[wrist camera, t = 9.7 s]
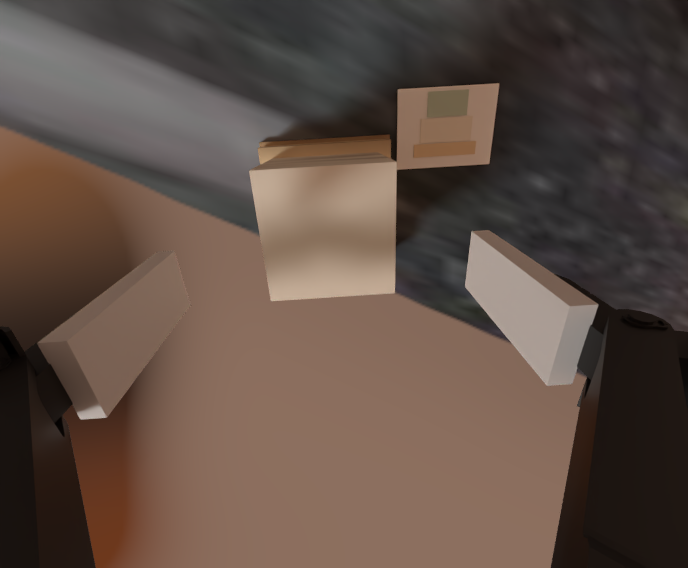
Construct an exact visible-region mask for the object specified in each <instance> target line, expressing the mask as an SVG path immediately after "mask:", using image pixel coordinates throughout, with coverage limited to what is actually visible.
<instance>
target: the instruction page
mask: <svg viewBox="0 0 688 568" xmlns="http://www.w3.org/2000/svg"><path fill="white" fill-rule="evenodd" d="M498 91H499V83H495V84H478V85H461V86H444V87H428V88H411V89H398V94H397V170H401V169H417V168H433V167H449V166H466V165H482V164H489V162H490V154H491V146H492V138H493V130H494V122H495V115H496V107H497V99H498Z"/></svg>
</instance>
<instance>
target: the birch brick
mask: <svg viewBox="0 0 688 568" xmlns="http://www.w3.org/2000/svg"><path fill="white" fill-rule="evenodd" d="M249 173H250V179H251V185H252V191H253V197H254V203H255V209H256V215H257V221H258V227H259V233H260V239H261V245H262V251H263V256H264V262H265V268H266V274H267V280H268V286H269V292H270V298H271V301H280V300H296V299H311V298H327V297H343V296H358V295H373V294H389V293H395V250H396V183H397V162H396V161H394V160H392V159H390V158H388V157H386V156H384V155H382V154H380V153H378V152H371V153H354V154H338V155H321V156H304V157H287V158H272V159H270V160H269V161H267V162H265V163H263V164H261V165H259V166H257V167H255V168H253V169H251V170H249Z"/></svg>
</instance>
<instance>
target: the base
mask: <svg viewBox="0 0 688 568" xmlns="http://www.w3.org/2000/svg"><path fill="white" fill-rule="evenodd" d="M259 144H260V148H258V153H259V159H260V165H261V164H263V163H265V162H267V161H269V160H270V159H272V158H287V157H304V156H321V155H338V154H354V153H371V152H378V153H380V154H382V155H384V156H386V157H388V158H390V159H391V140H390V135H373V136H357V137H340V138H324V139H307V140H291V141H274V142H260V143H259Z"/></svg>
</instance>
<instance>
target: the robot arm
mask: <svg viewBox="0 0 688 568" xmlns="http://www.w3.org/2000/svg"><path fill="white" fill-rule="evenodd" d="M465 287H466V288H467V290H468V291H469V292H470V293H471V295H472V296H473V297H474V298H475V299H476V301H477V302H478V303H479V304H480V305H481V307H482V308H483V309H484V310H485V311H486V313H487V314H488V315H489V316H490V317H491V319H492V320H493V321H494V322H495V324H496V325H497V326H498V327H499V328H500V330H501V331H502V332H503V333H504V334H505V336H506V337H507V338H508V339H509V340H510V342H511V343H512V344H513V345H514V346H515V348H516V349H517V350H518V351H519V352H520V354H521V355H522V356H523V357H524V359H525V360H526V361H527V362H528V363H529V365H530V366H531V367H532V368H533V369H534V371H535V372H536V373H537V374H538V375H539V377H540V378H541V379H542V380H543V381H544V383H545V384H546V385H547V386H550V385H564V384H572V383H573V380H574V377H575V374H576V371H577V368H579V369H580V370H581V371H582V372H583V373H584V374H585V375H586V376H587V379H586V382H585V385H584V387H583V390H582V393H581V396H580V399H579V401H578V404H577V406H578V407H580V410H579V415H578V421H577V426H576V432H575V437H574V443H573V448H572V454H571V459H570V465H569V470H568V476H567V481H566V487H565V492H564V498H563V503H562V509H561V514H560V520H559V525H558V531H557V536H556V542H555V548H554V553H553V558H552V564H551V568H688V332H684V331H674V329H673V328H672V326H671V325H670V324H669V323H667V322H666V321H665V320H663V319H661V318H659V317H657V316H654V315H652V314H648V313H645V312H641V311H636V310H629V309H618V310H616V309H614V308H613V307H611V306H609V305H608V304H606V303H605V302H603V301H602V300H600V299H599V298H597V297H596V296H594V295H593V294H590V292H588V291H587V290H585V289H583V288H581V287H580V286H579V285H577V284H576V283H574V282H573V281H571V280H569V279H567V278H564V277H562V276H559V275H556V274H553V273H551V272H550V271H548V270H547V269H546V268H544V267H543V266H541V265H540V264H538V263H537V262H535V261H534V260H532V259H531V258H529V257H528V256H526V255H525V254H523V253H522V252H520V251H519V250H517V249H516V248H514V247H513V246H512V245H510V244H509V243H507V242H506V241H504V240H503V239H501V238H500V237H498V236H497V235H495V234H494V233H492V232H491V231H489V230H484V231H472V233H471V241H470V250H469V258H468V266H467V274H466V282H465ZM190 306H191V304H190V300H189V297H188V294H187V290H186V287H185V284H184V280H183V277H182V274H181V271H180V267H179V264H178V260H177V257H176V254H175V251H163V252H156V253H155V254H154V255H152V256H151V257H150V258H148V259H147V260H146V261H144V262H143V263H142V264H140V265H139V266H138V267H136V268H135V269H134V270H133V271H131V272H130V273H129V274H127V275H126V276H125V277H123V278H122V279H121V280H119V281H118V282H117V283H115V284H114V285H113V286H111V287H110V288H109V289H108V290H106V291H105V292H104V293H102V294H101V295H100V296H98V297H97V298H96V299H94V300H93V301H92V302H90V303H89V304H88V305H86V306H85V307H84V308H83V309H82V310H80V311H79V312H77V313H76V314H74V315H72V316H71V317H70V318H68V319H67V320H66V321H64V322H63V323H62V324H61V325H59V326H58V327H57V328H55V329H54V330H53V331H52V332H50V333H49V334H47V335H46V336H45V337H43V338H42V339H41V340H39V341H38V342H37V343H35V344H34V345H33V346H31V347H30V348H29V349H27V350H26V351H25V352H24V351H23V349H22V347H21V346H20V344H19V342H18V341H17V339H16V337H15V336H14V334H13V332H12V331H11V329H10V328H9V327H0V568H96V567H95V562H94V557H93V551H92V546H91V541H90V536H89V531H88V526H87V520H86V515H85V510H84V505H83V500H82V495H81V489H80V484H79V479H78V474H77V469H76V463H75V458H74V454H73V448H72V443H71V438H70V432H69V427H68V424H67V422H66V420H65V419H64V417H63V414H64V413H65V412H66V410H67V409H68V408H69V407H70V406H71V405H73V407H74V409H75V411H76V412H77V414H78V416H79V418H80V419H94V418H107V417H108V415H109V414H110V413H111V411H112V410H113V409H114V407H115V406H116V404H117V403H118V402H119V401H120V399H121V398H122V397H123V395H124V394H125V393H126V391H127V390H128V389H129V387H130V386H131V385H132V383H133V382H134V381H135V379H136V378H137V377H138V375H139V374H140V372H141V371H142V370H143V369H144V367H145V366H146V365H147V363H148V362H149V361H150V359H151V358H152V357H153V355H154V354H155V353H156V351H157V350H158V349H159V347H160V346H161V345H162V343H163V342H164V340H165V339H166V338H167V337H168V335H169V334H170V332H171V331H172V330H173V328H174V327H175V326H176V325H177V323H178V322H179V321H180V319H181V318H182V317H183V315H184V313H185V312H186V311H187V310H188V308H189V307H190Z"/></svg>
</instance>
